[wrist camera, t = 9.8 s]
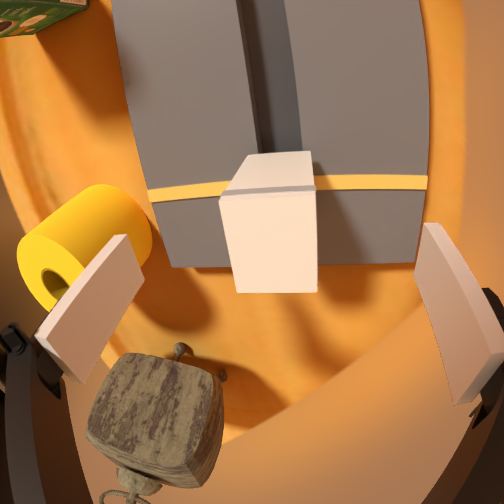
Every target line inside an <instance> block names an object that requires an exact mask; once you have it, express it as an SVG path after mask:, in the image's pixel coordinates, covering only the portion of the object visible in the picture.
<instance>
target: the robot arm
mask: <svg viewBox="0 0 504 504" xmlns="http://www.w3.org/2000/svg"><path fill="white" fill-rule="evenodd" d="M413 276H414V279H415V281H416V284H417V287H418V289H419V292H420V294H421V297H422V300H423V302H424V305H425V308H426V311H427V314H428V316H429V319H430V322H431V325H432V328H433V331H434V334H435V338H436V341H437V344H438V347H439V351H440V354H441V357H442V361H443V364H444V368H445V372H446V376H447V380H448V383H449V387H450V391H451V396H452V401H453V405H454V406H455V405H459V404H463V403H468V402H472V401H473V400H474V399H475V398H476V396H477V395H478V394H479V393H481V397H482V401H481V402H480V404H479V405H478V406H477V407H476V408H475V409H474V410H473V411H472V412H471V414H470V415H469V417H472V416H473V415H474V417H473V419H472V421H471V423H470V425H469V427H468V429H467V431H466V433H465V435H464V437H463V439H462V441H461V443H460V444H459V446H458V448H457V450H456V452H455V453H454V455H453V457H452V459H451V460H450V462H449V463H448V465H447V467H446V468H445V470H444V472H443V473H442V475H441V476H440V478H439V479H438V481H437V482H436V484H435V485H434V487H433V488H432V490H431V491H430V492H429V494H428V495H427V497H426V498H425V499H424V501H423V502H422V504H500V503H501V504H504V307H503V305H502V303H501V301H500V299H499V298H498V296H497V295H496V294H495V293H494V292H492V290H490V289H489V288H481V287H480V286H479V284H478V282H477V280H476V279H475V277H474V275H473V273H472V272H471V270H470V268H469V267H468V265H467V264H466V262H465V260H464V259H463V257H462V255H461V254H460V252H459V251H458V249H457V248H456V246H455V245H454V243H453V242H452V240H451V239H450V237H449V236H448V234H447V233H446V231H445V230H444V228H443V227H442V226H441V224H440V223H424V224H423V231H422V236H421V242H420V247H419V252H418V257H417V262H416V266H415V271H414V275H413ZM144 281H145V278H144V276H143V274H142V271H141V269H140V266H139V264H138V261H137V259H136V256H135V254H134V251H133V249H132V246H131V243H130V241H129V238H128V235H127V234H122V235H114V236H113V238H112V239H111V240H110V241H109V242H108V243H107V244H106V245H105V246H104V248H103V249H102V250H101V251H100V252H99V253H98V254H97V255H96V257H95V258H94V259H93V260H92V261H91V262H90V264H89V265H88V266H87V267H86V268H85V269H84V271H83V272H82V273H81V274H80V275H79V277H78V278H77V279H76V280H75V282H74V283H73V284H72V285H71V286H70V288H69V289H68V290H67V291H66V293H65V294H64V295H63V296H62V297H61V298H60V299H59V300H58V301H57V302H56V304H55V305H54V306H53V308H52V309H51V310H50V312H49V313H48V315H47V316H46V317H45V318H44V320H43V321H42V323H41V324H40V325H39V327H38V328H37V329H36V331H35V332H34V334H33V335H32V337H31V338H30V339H29V338H28V337H27V336H26V334H25V333H24V331H23V330H22V329H21V327H20V326H19V325H18V324H17V323H15V322H13V323H10V324H8V325H7V326H5V327H4V328H3V329H2V330H1V331H0V382H1V383H2V384H3V385H4V386H5V393H4V392H3V391H2V390H1V389H0V504H93V501H92V498H91V496H90V492H89V490H88V486H87V483H86V480H85V477H84V473H83V470H82V466H81V463H80V459H79V455H78V451H77V447H76V443H75V438H74V433H73V429H72V424H71V419H70V413H69V407H68V401H67V394H66V387H65V382H64V380H63V379H62V378H61V376H62V374H63V373H65V374H66V375H67V376H68V377H69V379H70V380H71V381H73V382H77V383H79V384H82V385H85V383H86V381H87V379H88V377H89V375H90V373H91V371H92V369H93V368H94V366H95V364H96V362H97V360H98V358H99V357H100V355H101V353H102V351H103V349H104V348H105V346H106V344H107V342H108V341H109V339H110V337H111V335H112V334H113V332H114V330H115V328H116V327H117V325H118V323H119V322H120V320H121V318H122V317H123V315H124V313H125V312H126V310H127V308H128V307H129V305H130V303H131V302H132V300H133V298H134V297H135V295H136V293H137V292H138V290H139V289H140V287H141V285H142V284H143V282H144ZM501 501H502V502H501Z"/></svg>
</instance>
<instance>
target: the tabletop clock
mask: <svg viewBox="0 0 504 504" xmlns="http://www.w3.org/2000/svg"><path fill="white" fill-rule="evenodd" d="M174 351H175V353H176V356H175V358H174V361H173V360H169V359H165V358H160V357H155V356H151V355H145V354H140V353H125V354H124V355H123V356H122V357H121V358H119V359H118V361H117V362H116V363H115V364H114V366H113V367H112V369H111V370H110V372H109V374H108V376H107V377H106V379H105V381H104V382H103V384H102V386H101V388H100V390H99V392H98V394H97V396H96V399H95V401H94V404H93V406H92V409H91V411H90V414H89V418H88V422H87V427H86V438H87V439H88V441H89V442H90V443H91V444H92V445H93V446H94V447H95V448H96V449H98V450H99V451H100V452H101V453H103V454H104V455H105V456H106V457H107V458H109V459H110V460H111V461H112V462H114V463H115V464H116V465H118V466H119V467H121V468H117V477H118V480H119V482H120V483H121V485H122V486H123V487H124V488H126V489H128V490H129V493H127V492H123V491H117V490H109V491H106V492H104V493H102V494H101V496H100V498H99V503H100V504H104V502H103V499H104V497H105V496H106V495H118V496H123V497H126V498H127V500H126V503H127V504H136V502H139V503H141V504H150V503H149V502H148V501H146V500H144V499H142V498H140V497H138V495H144V496H150V495H152V494H155V493H156V492H157V491H159V490H160V489H161V487H162V485H161V484H165V485H169V486H174V487H179V488H199V487H201V486H203V484H204V483H205V482H206V481H207V480H208V478H209V476H210V475H211V473H212V471H213V469H214V466H215V463H216V460H217V457H218V454H219V451H220V448H221V443H222V436H223V429H224V406H223V389H222V385H221V383H223V382H225V381H226V380H227V374H226V373H225V372H223V371H220V372H218V373H217V374H216V376H215V375H213V374H211V373H209V372H207V371H205V370H203V369H201V368H198V367H195V366H191V365H187V364H183V363H180V362H179V359H180V355H183V354H184V353H185V352H186V347H185V345H184V344H183V343H176V344H175V345H174ZM122 468H123V469H122ZM160 483H161V484H160Z"/></svg>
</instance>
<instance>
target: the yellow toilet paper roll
mask: <svg viewBox="0 0 504 504" xmlns="http://www.w3.org/2000/svg"><path fill="white" fill-rule="evenodd" d="M122 234H127V235H128V238H129V241H130V243H131V246H132V249H133V251H134V254H135V256H136V259H137V261H138V264H139V266H140V268H141V267H142V265H143V264H144V263H145V261H146V260H147V258H148V257H149V255H150V253H151V249H152V242H153V239H152V231H151V227H150V224H149V222H148V219H147V217H146V215H145V214H144V212H143V210H142V209H141V207H140V206H139V205H138V204H137V203H136V201H135V200H134V199H133V198H131V197H130V196H129V195H128V194H126V193H125V192H123V191H122V190H120V189H118V188H116V187H113V186H110V185H104V184H99V185H93V186H90V187H88V188H86V189H85V190H84V191H82V192H81V193H79V194H78V195H77V196H75V197H74V198H72V199H71V200H70V201H68V202H67V203H66V204H64V205H63V206H62V207H60V208H59V209H58V210H57V211H55V212H54V213H53V214H51V215H50V216H49V217H48V218H46V219H45V220H44V221H43V222H41V223H40V224H39V225H38V226H36V227H35V228H34V229H33V230H32V231H30V232H29V233H28V234H27V235H26V236H25V237H23V239H21V241H20V242H19V245H18V248H17V260H18V265H19V269H20V272H21V274H22V277H23V279H24V281H25V283H26V285H27V286H28V288H29V290H30V291H31V293H32V294H33V295H34V297H35V298H36V299H37V300H38V302H39V303H40V304H41V305H42V306H43V307H44V308H45V309H46V310H47V311H48V312H50V310H51V309H52V308H53V306H54V305H55V304H56V302H57V301H58V300H59V299H60V298H61V297H62V296H63V295H64V294H65V293H66V291H67V290H68V289H69V288H70V286H71V285H72V284H73V283H74V282H75V280H76V279H77V278H78V277H79V275H80V274H81V273H82V272H83V271H84V269H85V268H86V267H87V266H88V265H89V264H90V262H91V261H92V260H93V259H94V258H95V257H96V255H97V254H98V253H99V252H100V251H101V250H102V249H103V248H104V246H105V245H106V244H107V243H108V242H109V241H110V240H111V239H112V238H113V236H114V235H122Z"/></svg>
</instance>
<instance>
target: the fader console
mask: <svg viewBox="0 0 504 504" xmlns="http://www.w3.org/2000/svg"><path fill="white" fill-rule="evenodd" d="M111 3H112V13H113V21H114V29H115V36H116V43H117V50H118V56H119V62H120V68H121V74H122V79H123V85H124V90H125V95H126V100H127V105H128V110H129V115H130V119H131V124H132V128H133V133H134V137H135V141H136V146H137V150H138V154H139V158H140V162H141V166H142V170H143V173H144V177H145V181H146V185H147V188H148V190H147V193H148V197H149V200H150V202H151V203H152V206H153V210H154V213H155V216H156V220H157V223H158V226H159V230H160V233H161V236H162V239H163V243H164V246H165V249H166V252H167V255H168V258H169V261H170V264H171V267H172V268H186V267H232V266H231V261H230V256H229V252H228V247H227V242H226V237H225V232H224V227H223V222H222V217H221V212H220V207H219V202H218V201H219V200H220V195H221V193H222V192H223V191H224V190H226V188H227V187H228V185H229V184H230V182H231V180H232V179H233V177H234V176H235V174H236V173H237V171H238V169H239V168H240V166H241V165H242V163H243V162H244V160H245V159H246V157H247V156H248V155H252V154H265V153H278V152H295V151H311V160H312V168H313V177H314V185H316V199H317V228H318V265H347V264H379V263H408V262H415V257H416V252H417V246H418V241H419V235H420V228H421V222H422V215H423V207H424V199H425V190H426V189H427V181H428V176H427V168H428V152H429V81H428V66H427V54H426V45H425V37H424V29H423V22H422V16H421V10H420V5H419V0H111Z"/></svg>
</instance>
